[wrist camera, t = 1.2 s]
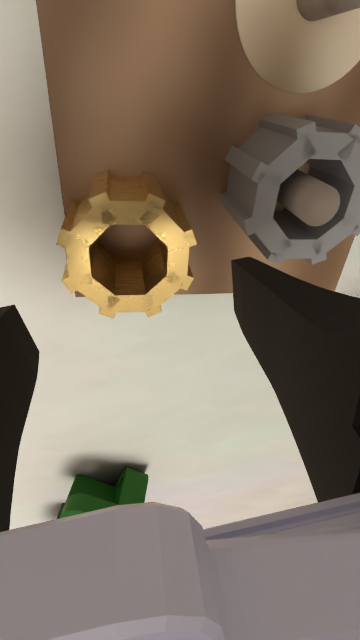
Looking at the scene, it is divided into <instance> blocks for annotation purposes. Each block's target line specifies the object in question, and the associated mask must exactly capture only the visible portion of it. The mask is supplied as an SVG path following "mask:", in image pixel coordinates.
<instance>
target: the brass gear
mask: <svg viewBox="0 0 360 640" xmlns="http://www.w3.org/2000/svg"><path fill="white" fill-rule="evenodd" d="M110 225H146V226H147V227H148V228H149V229H150V230H151V231H152V232H153V233H154V234H155V235H156V236H157V237H158V241H157V242H156V243H155V244H154V245H153V246H152V247H151V248H150V249H149V250H148V251H147V252H146V253H144V254H143V255H142V256H141V257H115V256H114V255H112V254H111V253H110V252H109V251H108V250H107V249H105V248H104V247H103V246H102V245H101V244H100V243H98V242H97V241H96V239H97V238H98V237H99V236H100V235H101V234H102V233H103V232H104V231H105V230H106V229H107V228H108V227H109V226H110ZM56 245H59V246H62V247H65V251H66V258H67V264H66V267H65V271H64V274H63V278H62V281H63V283H64V284H65V286H66V287H67V289H68V290H69V292H70V293H73V292H75V291H79V292H80V293H82V294H83V295H84V296H86V297H87V298H88V299H90V300H91V301H92V302H94V303H95V304H97V305H98V306H99V314H101V315H104V316H108V317H111V318H114V316H115V314H116V313H118V312H146V314H147V316H148V317H150V316H152V315H155V314H158V313H160V312H162V310H161V304H163V303H164V302H165V301H166V300H167V299H168V298H170V297H171V296H172V295H173V294H174V293H175V292H177V291H178V290H179V289H180V288H181V289H184V290H186V291H187V290H188V288H189V286H190V284H191V282H192V280H193V279H194V277H193V274H192V272H191V269H190V266H189V264H188V259H189V247H191V246H194V245H197V243H196V240H195V237H194V234H193V231H192V228H191V226H190V224H189V222H188V220H187V218H186V216H185V214H184V212H183V210H182V208H181V206H180V204H179V202H178V201H176V202H174V203H171V202H170V201H169V200H168V199H167V198H166V197H165V196H164V194H163V193H162V190H161V188H160V185H159V182H158V180H157V177H156V176H154V175H152V174H150V173H148V172H145V171H143V170H142V173H141V175H140V177H120V176H111V174H110V172H109V169H107V170H105V171H102V172H100V173H97V174H95V175H94V179H93V183H92V187H91V190H90V191H89V192H88V193H87V194H86V195H85V196H84V197H83V198H82V200H81V201H80V202H79V201H77V200H74V199H72V201H71V204H70V207H69V209H68V212H67V214H66V217H65V220H64V222H63V225H62V228H61V231H60V234H59V237H58V241H57V244H56Z"/></svg>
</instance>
